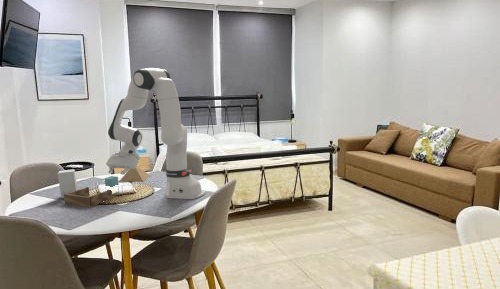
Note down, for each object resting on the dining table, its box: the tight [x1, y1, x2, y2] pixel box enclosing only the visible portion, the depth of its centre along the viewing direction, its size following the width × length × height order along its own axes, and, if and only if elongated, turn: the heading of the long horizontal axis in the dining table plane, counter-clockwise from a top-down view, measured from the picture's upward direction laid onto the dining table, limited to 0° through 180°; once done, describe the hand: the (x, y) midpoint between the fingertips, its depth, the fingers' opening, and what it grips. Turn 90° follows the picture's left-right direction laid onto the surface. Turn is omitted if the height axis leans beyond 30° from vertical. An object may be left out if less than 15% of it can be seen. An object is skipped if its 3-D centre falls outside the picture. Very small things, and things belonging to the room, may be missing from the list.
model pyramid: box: [118, 165, 151, 183], centre depth 238 cm, size 17×17×10 cm
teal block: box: [104, 175, 120, 187], centre depth 206 cm, size 5×5×9 cm
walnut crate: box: [63, 186, 113, 208], centre depth 192 cm, size 15×18×5 cm
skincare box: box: [57, 168, 79, 199], centre depth 201 cm, size 8×6×15 cm
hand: (116, 173), depth 209 cm, fingers open, 8 cm apart
